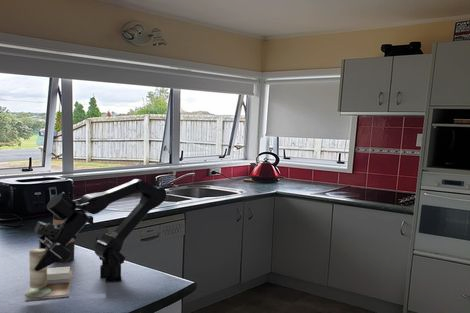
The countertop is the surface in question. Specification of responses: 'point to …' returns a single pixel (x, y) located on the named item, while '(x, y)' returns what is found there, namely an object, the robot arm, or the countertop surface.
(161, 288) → the countertop surface
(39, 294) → the wooden board
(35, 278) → the roller
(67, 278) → the slab
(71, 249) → the travel mug
